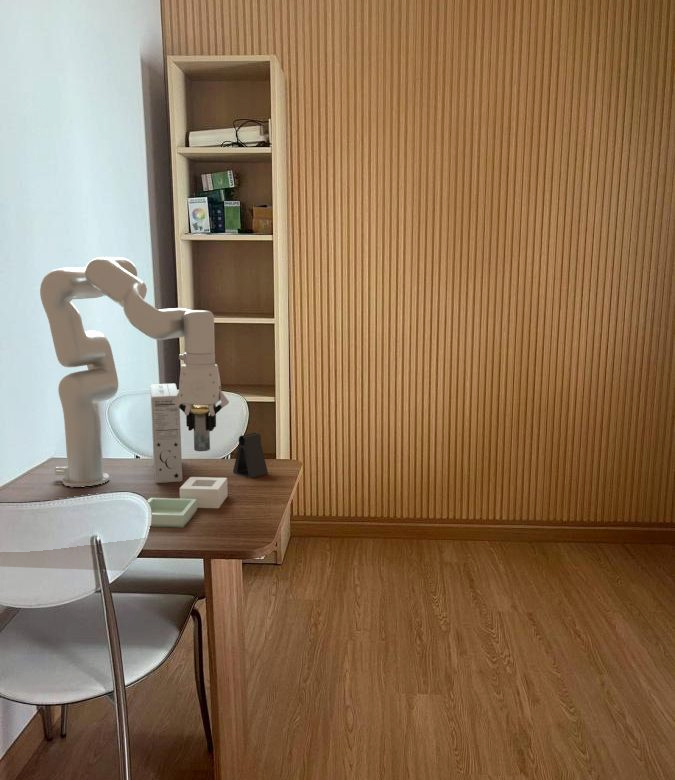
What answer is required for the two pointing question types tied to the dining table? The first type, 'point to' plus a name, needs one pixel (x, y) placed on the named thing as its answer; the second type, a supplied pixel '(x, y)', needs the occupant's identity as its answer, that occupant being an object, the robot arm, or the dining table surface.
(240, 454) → the black a-frame stand
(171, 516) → the tray
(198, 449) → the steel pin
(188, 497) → the block
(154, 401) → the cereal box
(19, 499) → the dining table surface
